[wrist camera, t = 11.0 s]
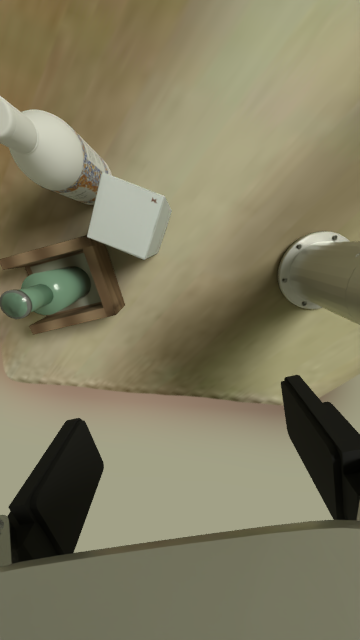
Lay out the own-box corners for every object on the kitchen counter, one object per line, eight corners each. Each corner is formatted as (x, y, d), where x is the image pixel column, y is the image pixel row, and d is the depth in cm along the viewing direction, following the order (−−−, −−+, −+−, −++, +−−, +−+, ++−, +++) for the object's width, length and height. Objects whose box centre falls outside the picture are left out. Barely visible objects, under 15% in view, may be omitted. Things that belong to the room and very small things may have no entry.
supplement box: (128, 191, 37) (101, 167, 25) (173, 210, 38) (167, 195, 26) (115, 238, 39) (84, 237, 27) (157, 255, 40) (145, 261, 28)
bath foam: (75, 208, 38) (-35, 174, 19) (63, 158, 36) (-74, 63, 17) (117, 202, 38) (49, 160, 19) (108, 151, 36) (19, 45, 16)
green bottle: (83, 262, 39) (26, 273, 25) (95, 294, 41) (48, 322, 27) (52, 270, 40) (-21, 286, 26) (65, 302, 42) (2, 333, 27)
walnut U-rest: (102, 236, 39) (88, 234, 33) (125, 305, 43) (116, 314, 37) (24, 257, 40) (-2, 259, 35) (52, 322, 44) (33, 334, 38)
